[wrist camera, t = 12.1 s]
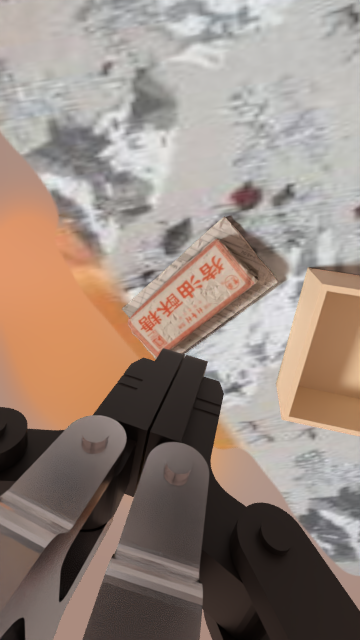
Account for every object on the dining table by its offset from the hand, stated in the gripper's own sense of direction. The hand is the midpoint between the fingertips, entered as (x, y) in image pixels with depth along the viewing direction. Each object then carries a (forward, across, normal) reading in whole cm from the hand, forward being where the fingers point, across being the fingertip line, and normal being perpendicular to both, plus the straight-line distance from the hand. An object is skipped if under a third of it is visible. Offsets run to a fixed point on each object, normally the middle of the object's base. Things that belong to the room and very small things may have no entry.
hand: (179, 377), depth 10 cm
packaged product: (+30, +4, +8) cm, 31 cm away
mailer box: (+30, -15, +9) cm, 35 cm away
